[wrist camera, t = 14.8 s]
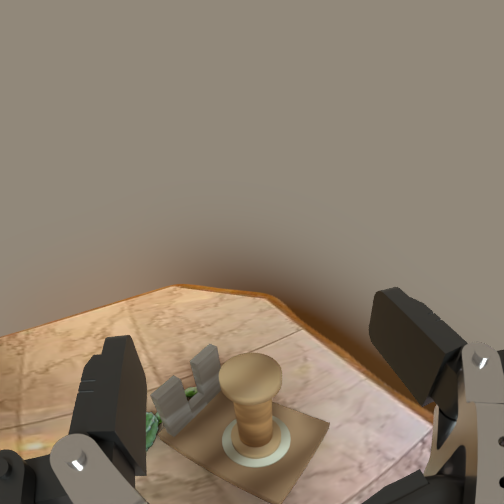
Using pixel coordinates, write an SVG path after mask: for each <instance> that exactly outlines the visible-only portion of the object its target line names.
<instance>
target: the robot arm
mask: <svg viewBox="0 0 504 504" xmlns="http://www.w3.org/2000/svg"><path fill="white" fill-rule="evenodd" d="M369 335H370V339H371V342H372V344H373V345H374V346H375V347H376V349H377V350H378V351H379V353H380V354H381V355H382V356H383V358H384V359H385V360H386V361H387V363H388V364H389V365H390V366H391V368H392V369H393V370H394V371H395V373H396V374H397V375H398V377H399V378H400V379H401V380H402V382H403V383H404V384H405V386H406V387H407V388H408V389H409V391H410V392H411V393H412V395H413V396H414V397H415V399H416V400H417V401H418V403H419V404H420V405H421V406H422V407H423V406H425V405H427V404H429V403H431V402H433V401H434V402H435V403H436V404H437V405H436V407H435V410H434V421H433V435H432V446H431V455H430V459H429V462H428V464H427V466H426V469H425V471H424V474H422V472H421V470H420V469H419V470H417V471H416V472H414V473H412V474H410V475H408V476H406V477H404V478H402V479H400V480H398V481H396V482H394V483H392V484H389V485H387V486H385V487H384V488H382V489H381V490H380V491H378V492H377V493H376V494H374V495H373V496H372V497H370V498H369V499H368V500H366V501H365V502H363V503H362V504H504V350H500V351H496V350H495V349H494V348H492V347H491V346H489V345H487V344H485V343H482V342H471V343H469V344H468V343H467V342H466V341H465V340H463V339H462V338H461V337H460V336H459V335H458V334H457V333H456V332H455V331H454V330H453V329H451V327H449V326H448V325H447V324H446V323H445V322H444V321H442V320H440V318H439V317H438V316H437V315H436V314H435V313H434V314H433V312H432V310H430V309H429V308H428V307H427V306H426V305H424V303H422V302H419V301H417V300H415V299H413V298H411V297H409V296H408V295H406V294H405V293H404V292H403V291H402V290H401V289H400V288H398V287H393V288H389V289H386V290H381V291H378V292H376V294H375V296H374V300H373V307H372V313H371V319H370V324H369ZM78 391H79V393H78V394H77V398H76V402H75V407H74V411H73V416H72V420H71V425H70V430H69V434H68V435H67V436H65V437H63V438H61V439H60V440H59V441H58V442H57V443H56V444H55V445H54V446H53V448H52V450H51V453H50V454H49V455H45V456H41V457H37V458H32V459H28V460H23V459H22V458H21V457H20V456H19V455H18V454H17V453H16V452H14V451H12V450H1V451H0V504H149V503H148V502H147V501H146V500H145V499H144V498H143V497H142V496H141V495H140V493H139V492H138V491H137V490H136V489H135V476H147V474H146V400H147V384H146V377H145V373H144V370H143V367H142V365H141V362H140V360H139V357H138V354H137V351H136V349H135V346H134V343H133V340H132V338H131V336H130V335H124V336H115V337H107V338H106V339H105V342H104V346H103V350H102V354H100V355H93V356H92V357H91V359H90V360H89V361H88V363H87V364H86V365H85V367H84V370H83V374H82V377H81V382H80V385H79V389H78Z"/></svg>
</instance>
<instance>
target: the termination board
mask: <svg viewBox="0 0 504 504" xmlns="http://www.w3.org/2000/svg"><path fill="white" fill-rule="evenodd" d="M190 364H191V368H192V372H193V375H194V379H195V383H196V386H197V390H198V393H197V394H195V395H194V396H193V397H192V398H191V399H190V400H189V401H188V400H187V397H186V394H185V391H184V388H183V385H182V382H181V379H179V378H177V377H176V376H174V375H173V376H172V377H171V378H170V379H169V380H167V381H166V382H165V383H164V384H163V385H162V386H160V387H159V388H158V389H157V390H156V391H155V392H153V393H152V394H151V395H150V396H151V398H152V400H153V403H154V405H155V407H156V409H157V411H158V414H159V416H160V418H161V420H162V422H163V424H164V427H165V428H164V429H163V430H161V431H160V432H159V433H158V436H159V437H160V439H161V440H162V441H163V442H165V443H166V444H168V445H169V446H170V447H172V448H173V449H175V450H176V451H178V452H179V453H181V454H182V455H184V456H186V457H187V458H189V459H190V460H192V461H193V462H195V463H197V464H198V465H200V466H202V467H203V468H205V469H207V470H208V471H210V472H212V473H213V474H215V475H217V476H219V477H220V478H222V479H224V480H226V481H228V482H229V483H231V484H233V485H235V486H237V487H239V488H241V489H243V490H245V491H247V492H249V493H251V494H253V495H255V496H257V497H259V498H261V499H263V500H265V501H267V502H269V503H272V504H282V502H283V501H284V499H285V498H286V497H287V495H288V494H289V492H290V491H291V489H292V488H293V486H294V485H295V483H296V482H297V480H298V479H299V477H300V476H301V474H302V473H303V471H304V469H305V468H306V466H307V465H308V463H309V461H310V460H311V458H312V457H313V455H314V453H315V452H316V450H317V448H318V447H319V445H320V443H321V441H322V440H323V438H324V436H325V434H326V433H327V431H328V429H329V425H330V423H328V422H325V421H322V420H319V419H317V418H314V417H311V416H308V415H305V414H303V413H300V412H297V411H295V410H292V409H289V408H287V407H284V406H282V405H279V404H277V403H274V402H272V420H274V421H275V422H276V423H277V424H278V426H279V427H280V430H281V443H280V445H279V447H278V449H277V450H276V451H275V452H274V453H273V454H271V455H270V456H267V457H265V458H260V459H251V458H247V457H244V456H242V455H240V454H239V453H238V452H237V451H236V450H235V449H234V447H233V444H232V440H231V431H232V428H233V427H234V425H235V424H236V423H237V421H236V415H235V409H234V403H233V401H231V400H229V399H228V398H227V397H226V396H225V395H224V394H223V392H222V390H221V387H220V382H219V371H220V369H221V367H220V361H219V355H218V350H217V346H214V345H212V344H209V345H208V346H207V347H205V348H204V349H203V350H202V351H201V352H200V353H199V354H197V355H196V356H195V357H194V358H193V359H192V360H191V361H190Z"/></svg>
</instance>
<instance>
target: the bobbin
mask: <svg viewBox="0 0 504 504" xmlns="http://www.w3.org/2000/svg"><path fill="white" fill-rule="evenodd" d="M219 382H220V387H221V390H222V392H223V394H224V395H225V396H226V397H227V398H228V399H229V400H231V401H233V403H234V409H235V415H236V421H237V423H236V424H235V425H234V427H233V428H232V431H231V440H232V444H233V447H234V449H235V450H236V451H237V452H238V453H239V454H240V455H242V456H244V457H247V458H251V459H260V458H265V457H267V456H270V455H271V454H273V453H274V452H275V451H276V450H277V449H278V447H279V445H280V443H281V430H280V427H279V426H278V424H277V423H276V422H275V421H274V420H272V398H273V397H274V396H276V394H277V393H278V392H279V390H280V388H281V385H282V370H281V367H280V365H279V364H278V363H277V362H276V361H275V360H274V359H273V358H271V357H269V356H267V355H264V354H260V353H244V354H240V355H237V356H234V357H232V358H230V359H229V360H227V361H226V362H225V363H224V364H223V365H222V367H221V369H220V371H219Z"/></svg>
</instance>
